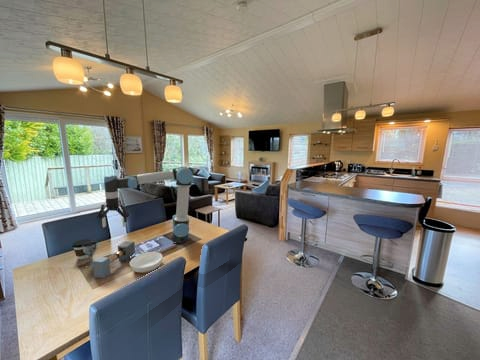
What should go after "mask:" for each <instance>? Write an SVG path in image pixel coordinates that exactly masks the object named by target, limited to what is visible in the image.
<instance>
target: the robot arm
mask: <svg viewBox="0 0 480 360" xmlns="http://www.w3.org/2000/svg"><path fill="white" fill-rule="evenodd" d="M193 178H194V174H193V172H192V170H191V169H190V168H188V167H186V166H180V167H176V168H175V167H174V168H171V169H169V170H164V171H163V170H161V171H156V172H155V171H154V172H148V173H140V174H129V175H127V176H126V177H118V175H115V174H109V175H105V176H104V177H103V179H104V180H103V183H104V184H103V185H104V193H105V194H104V196H105V203H103V204H101V207H100V210H99V212H98V215H97V218H99V219H100V223H101V224H102V228H105V227H107V219H106V218H107V217H106V215H107V214H108V213H109V212H113V211H114V212H117V213H118V214H119V215H120V216H121V217H122V228H125V227H126V226H127V221H128V217H130V213H129V212H128V210H127V209H126V207H125V204H124V203H120V199H119V189H120V190H121V189H123V190H124V189H136V188H137V186H138V185H142V184H150V183H157V182H164V181H171V180H172V181H175V185H176V187H177V194H176V197H177V198H176V212H175V214H174V215H172V236H171V240H172V241H173V242H176V243H182V244H185V243H184V242H186V241H188V240H189V241H190V234H189V232H190V226H189V225H190V218H189V216H188V214H189V213H188V212H189V199H190V198H189V195H190V187H191V186H192V185H193V184H192V182H193ZM105 209H106V210H105ZM189 241H188V242H189ZM186 243H187V242H186Z"/></svg>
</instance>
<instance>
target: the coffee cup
mask: <svg viewBox="0 0 480 360" xmlns="http://www.w3.org/2000/svg"><path fill="white" fill-rule="evenodd" d="M91 241H92V240H91V239H90V238H86V239H85V238H84V239H80V240H77V241H75V242H73V243H72V245H71V247H72V248H73V250H74V254H75V256H76V258H77V259H78V260H79V259H84V260H86V259H88V258H89V257H90V256H88V255H86V254H85V253H84V251H83V247H82V245H83V244H85V243H87V242H91ZM85 258H86V259H85Z"/></svg>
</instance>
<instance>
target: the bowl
mask: <svg viewBox="0 0 480 360" xmlns="http://www.w3.org/2000/svg"><path fill="white" fill-rule="evenodd" d="M162 262H163V255H162V253H160V252H158V251H147V252H142V253H140V254H138V255H135V256H134V257H133V258H131V259H130V260H129V267H130V268H131V270H132V271H133V272H136V273H138V274H146V273H150V272H152V271H154V270H156V269H157V268H158V267H160V265H161V264H162Z"/></svg>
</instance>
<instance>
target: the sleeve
mask: <svg viewBox="0 0 480 360" xmlns="http://www.w3.org/2000/svg"><path fill="white" fill-rule="evenodd" d="M135 246H136V245H135V241H130V240H126V241H124V242H122V243H121V244H119V245H117V252H119V251H120V250H122V249H123V248H125V254H124V255H122V256H121V257H119V258H118V261H121V262H123V261H124V262H128V261H131V259H130V256H132V255H133V254H134V253H135V254H136V247H135Z"/></svg>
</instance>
